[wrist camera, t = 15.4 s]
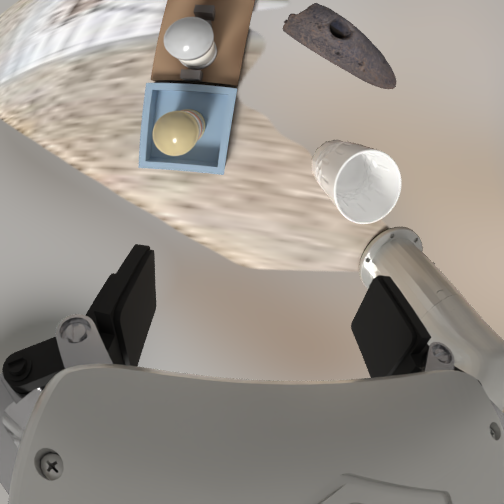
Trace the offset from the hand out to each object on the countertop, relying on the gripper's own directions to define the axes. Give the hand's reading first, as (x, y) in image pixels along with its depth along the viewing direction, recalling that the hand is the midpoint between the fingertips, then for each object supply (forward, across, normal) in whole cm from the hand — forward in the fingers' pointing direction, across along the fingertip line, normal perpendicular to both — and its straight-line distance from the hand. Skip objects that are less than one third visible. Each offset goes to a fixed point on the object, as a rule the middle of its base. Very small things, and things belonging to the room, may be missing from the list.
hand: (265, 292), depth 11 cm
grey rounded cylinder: (+23, +8, -13) cm, 27 cm away
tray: (+24, +8, -4) cm, 26 cm away
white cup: (+25, -11, -2) cm, 28 cm away
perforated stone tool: (+25, -8, -17) cm, 31 cm away
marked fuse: (+24, +8, -4) cm, 25 cm away
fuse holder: (+24, +8, -17) cm, 31 cm away
